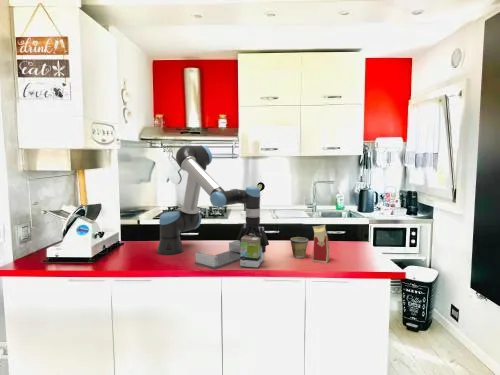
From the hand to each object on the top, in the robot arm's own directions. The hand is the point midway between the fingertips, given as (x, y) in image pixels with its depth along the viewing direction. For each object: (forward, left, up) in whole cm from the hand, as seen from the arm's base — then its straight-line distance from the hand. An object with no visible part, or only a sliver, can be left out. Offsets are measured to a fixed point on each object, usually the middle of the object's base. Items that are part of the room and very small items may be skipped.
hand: (252, 256), depth 187 cm
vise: (-17, 0, -4) cm, 17 cm away
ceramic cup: (+12, +28, -4) cm, 31 cm away
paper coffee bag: (+25, +28, -4) cm, 38 cm away
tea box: (0, 0, -4) cm, 4 cm away
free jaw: (-17, +13, -3) cm, 21 cm away
